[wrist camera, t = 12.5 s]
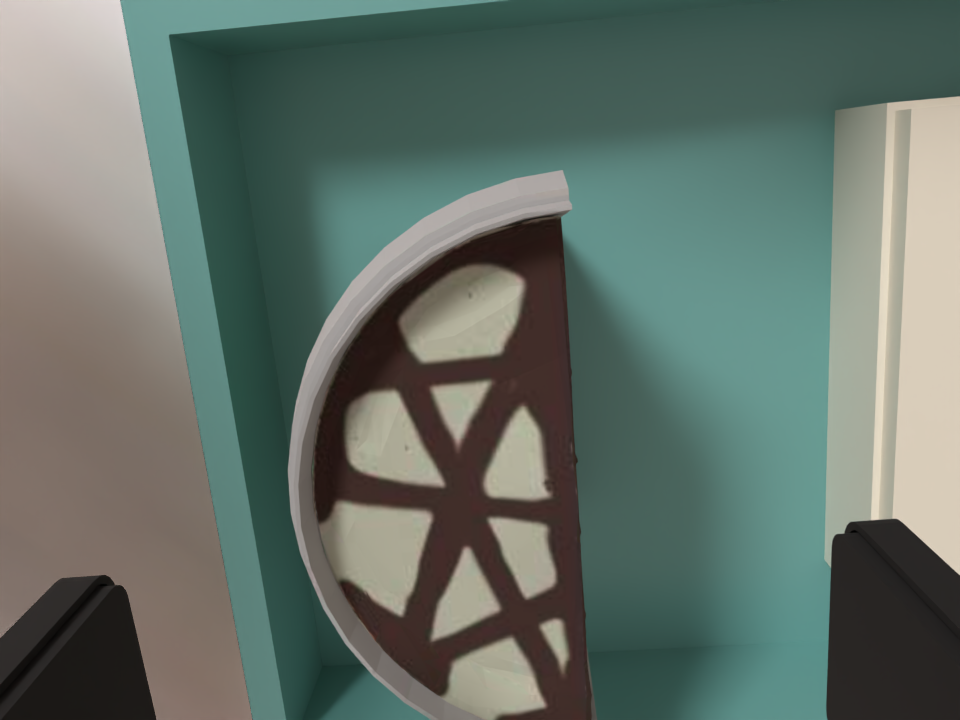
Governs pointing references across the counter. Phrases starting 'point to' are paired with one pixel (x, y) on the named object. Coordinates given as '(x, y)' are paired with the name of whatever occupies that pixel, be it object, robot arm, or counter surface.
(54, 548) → the counter surface
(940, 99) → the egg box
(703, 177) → the tray
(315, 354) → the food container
